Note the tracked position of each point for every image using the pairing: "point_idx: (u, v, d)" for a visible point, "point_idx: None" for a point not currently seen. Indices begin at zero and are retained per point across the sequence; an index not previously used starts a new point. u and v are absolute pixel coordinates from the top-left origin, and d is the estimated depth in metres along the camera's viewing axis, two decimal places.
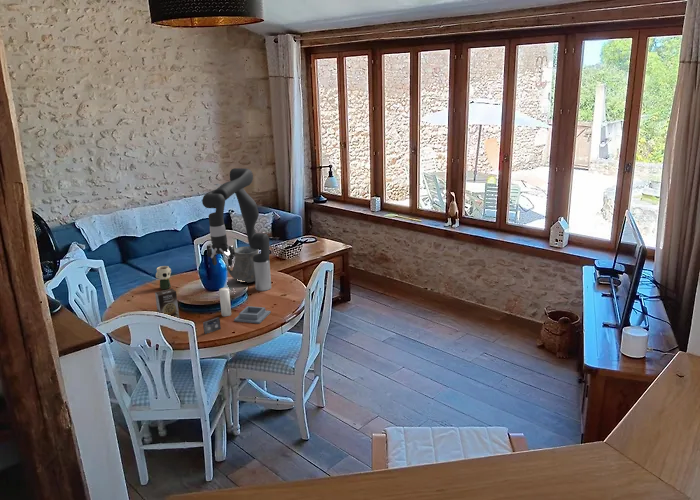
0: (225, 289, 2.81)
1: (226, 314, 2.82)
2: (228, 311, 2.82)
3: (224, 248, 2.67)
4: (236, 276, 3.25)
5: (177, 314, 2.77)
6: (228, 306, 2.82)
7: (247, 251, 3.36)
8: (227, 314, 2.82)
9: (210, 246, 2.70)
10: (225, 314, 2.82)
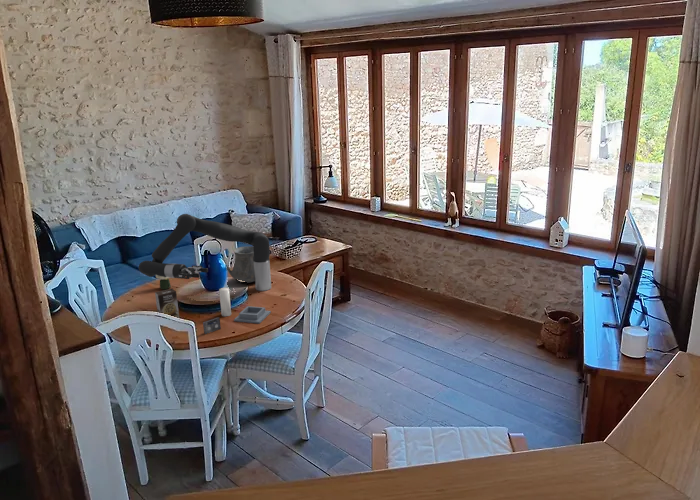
0: (225, 289, 2.81)
1: (226, 314, 2.82)
2: (228, 311, 2.82)
3: None
4: (236, 276, 3.25)
5: (177, 314, 2.77)
6: (228, 306, 2.82)
7: (247, 251, 3.36)
8: (227, 314, 2.82)
9: None
10: (225, 314, 2.82)
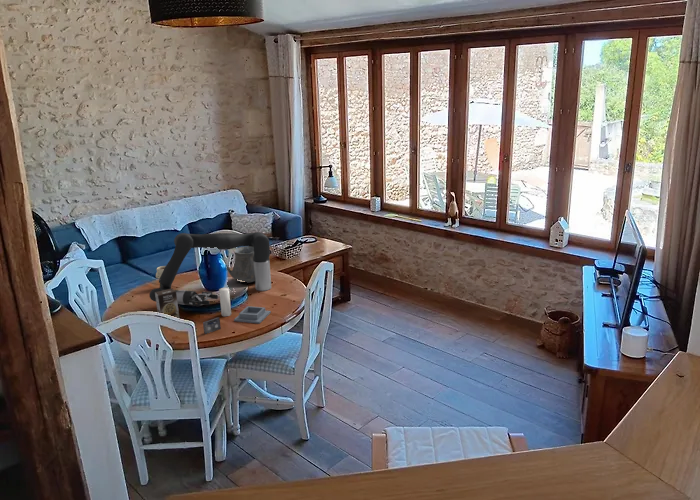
0: (225, 289, 2.81)
1: (226, 314, 2.82)
2: (228, 311, 2.82)
3: None
4: (236, 276, 3.25)
5: (177, 314, 2.77)
6: (228, 306, 2.82)
7: (247, 251, 3.36)
8: (227, 314, 2.82)
9: None
10: (225, 314, 2.82)
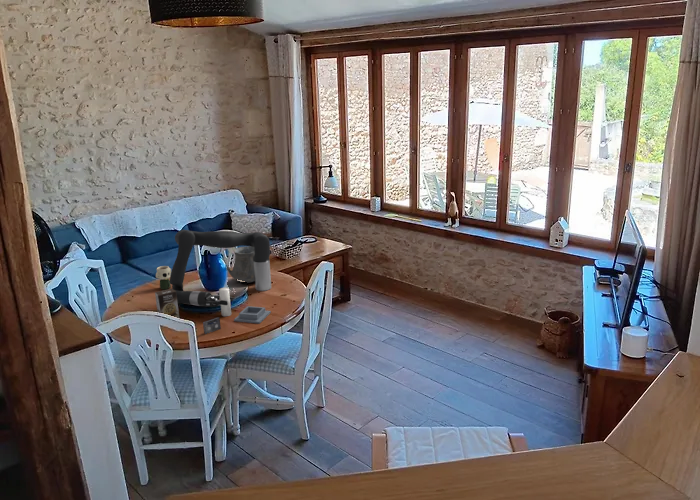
0: (225, 289, 2.81)
1: (226, 314, 2.82)
2: (228, 311, 2.82)
3: None
4: (236, 276, 3.25)
5: (177, 314, 2.77)
6: (228, 306, 2.82)
7: (247, 251, 3.36)
8: (227, 314, 2.82)
9: None
10: (225, 314, 2.82)
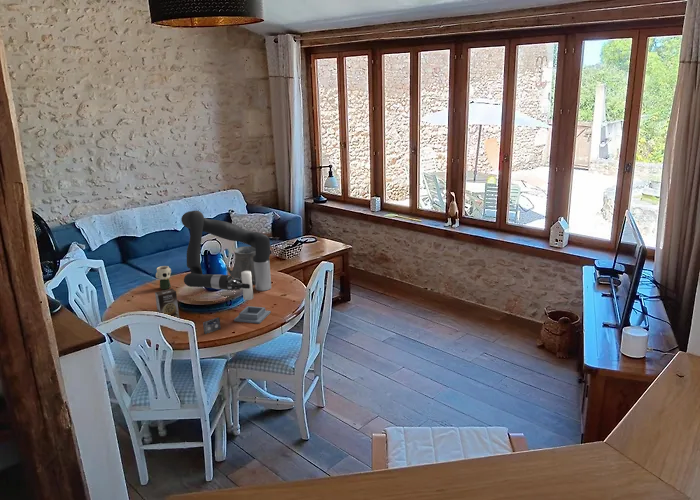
0: (247, 272, 2.74)
1: (248, 298, 2.76)
2: (250, 295, 2.76)
3: None
4: (236, 276, 3.25)
5: (177, 314, 2.77)
6: (250, 290, 2.75)
7: (247, 251, 3.36)
8: (249, 298, 2.76)
9: None
10: (247, 298, 2.76)
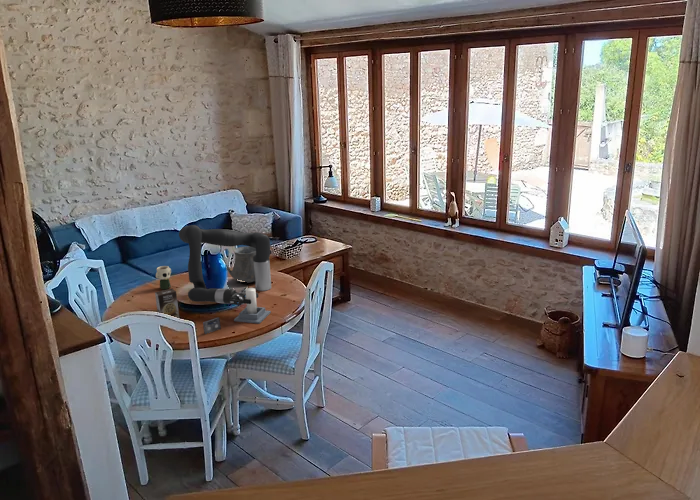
0: (251, 289, 2.76)
1: None
2: (254, 312, 2.78)
3: None
4: (236, 276, 3.25)
5: (177, 314, 2.77)
6: (254, 307, 2.77)
7: (247, 251, 3.36)
8: None
9: None
10: None
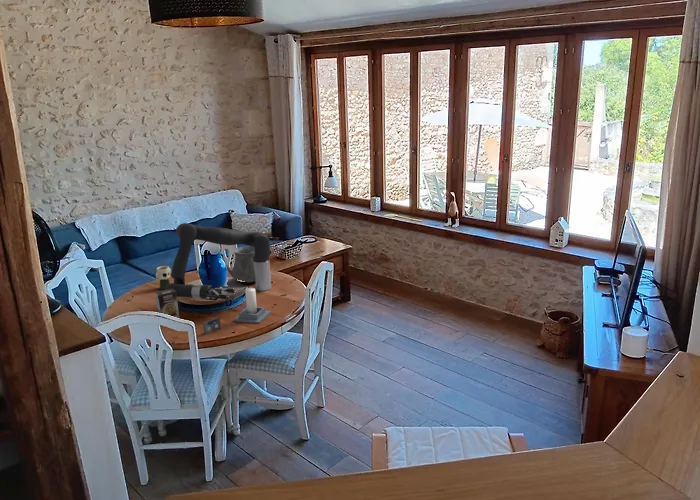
0: (251, 289, 2.76)
1: None
2: (254, 312, 2.78)
3: None
4: (236, 276, 3.25)
5: (177, 314, 2.77)
6: (254, 307, 2.77)
7: (247, 251, 3.36)
8: None
9: None
10: None
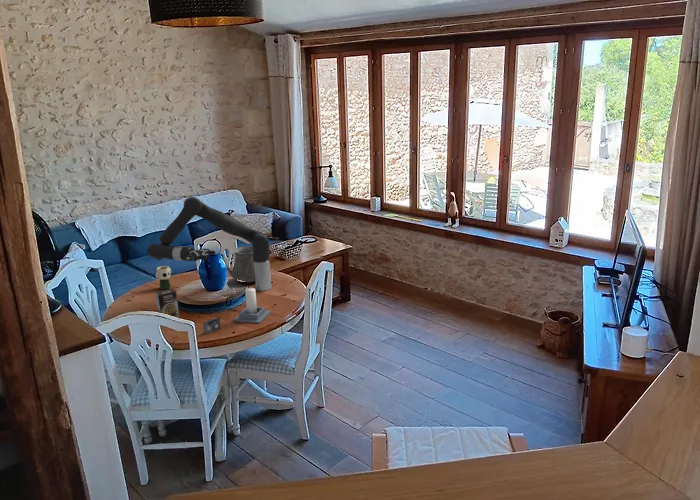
0: (251, 289, 2.76)
1: None
2: (254, 312, 2.78)
3: None
4: (236, 276, 3.25)
5: (177, 314, 2.77)
6: (254, 306, 2.77)
7: (247, 251, 3.36)
8: None
9: None
10: None
